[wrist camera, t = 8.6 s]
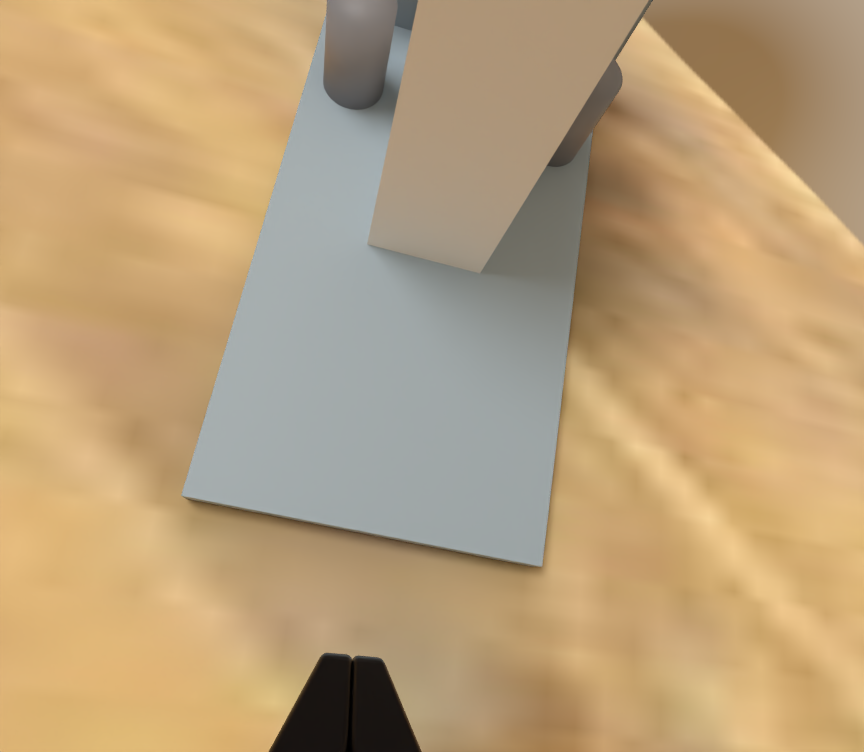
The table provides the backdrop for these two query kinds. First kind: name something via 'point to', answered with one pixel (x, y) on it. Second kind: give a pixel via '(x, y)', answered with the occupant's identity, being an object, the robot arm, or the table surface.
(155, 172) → the table surface
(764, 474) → the table surface
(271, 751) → the robot arm
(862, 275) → the table surface
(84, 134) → the table surface
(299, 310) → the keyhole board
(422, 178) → the panel
